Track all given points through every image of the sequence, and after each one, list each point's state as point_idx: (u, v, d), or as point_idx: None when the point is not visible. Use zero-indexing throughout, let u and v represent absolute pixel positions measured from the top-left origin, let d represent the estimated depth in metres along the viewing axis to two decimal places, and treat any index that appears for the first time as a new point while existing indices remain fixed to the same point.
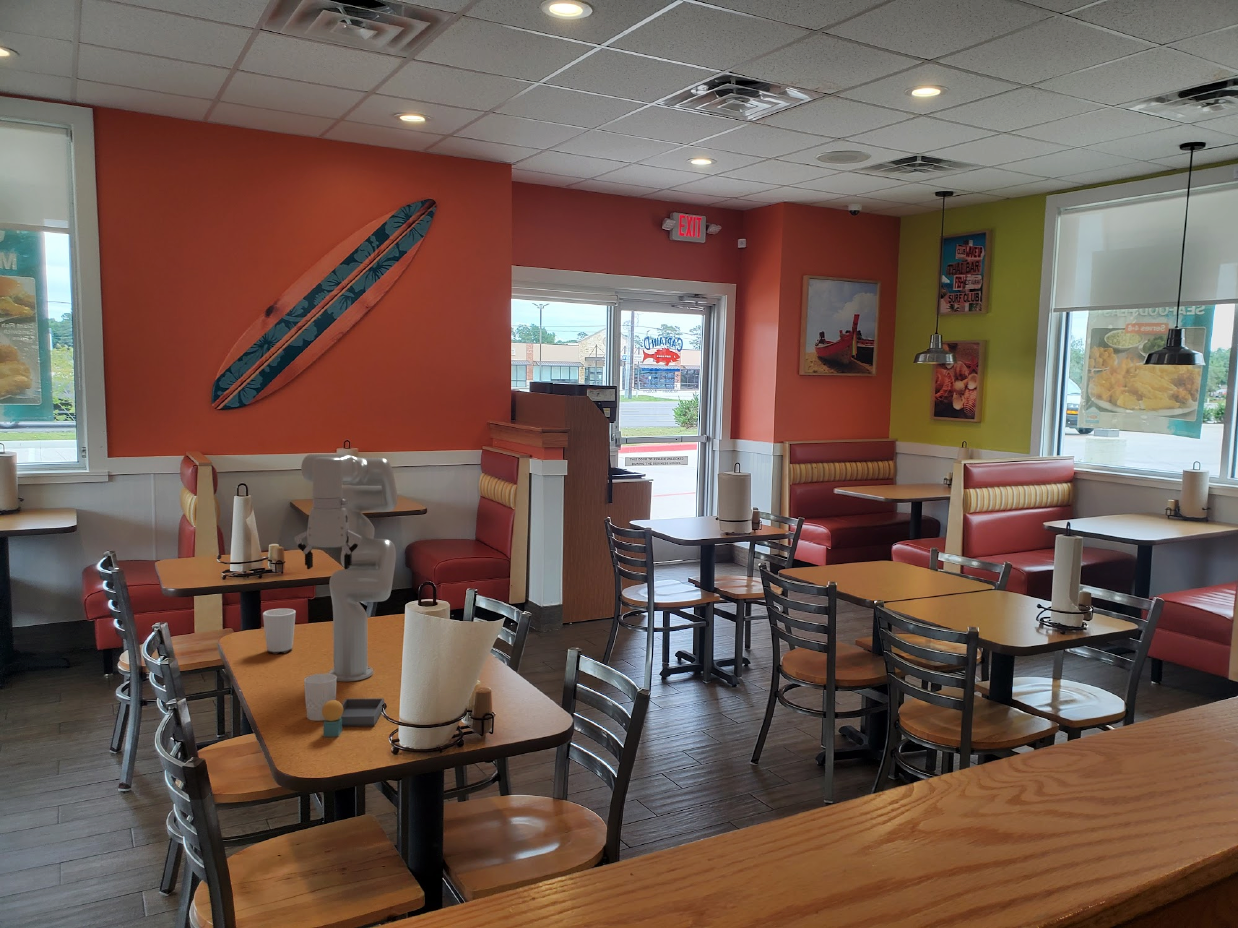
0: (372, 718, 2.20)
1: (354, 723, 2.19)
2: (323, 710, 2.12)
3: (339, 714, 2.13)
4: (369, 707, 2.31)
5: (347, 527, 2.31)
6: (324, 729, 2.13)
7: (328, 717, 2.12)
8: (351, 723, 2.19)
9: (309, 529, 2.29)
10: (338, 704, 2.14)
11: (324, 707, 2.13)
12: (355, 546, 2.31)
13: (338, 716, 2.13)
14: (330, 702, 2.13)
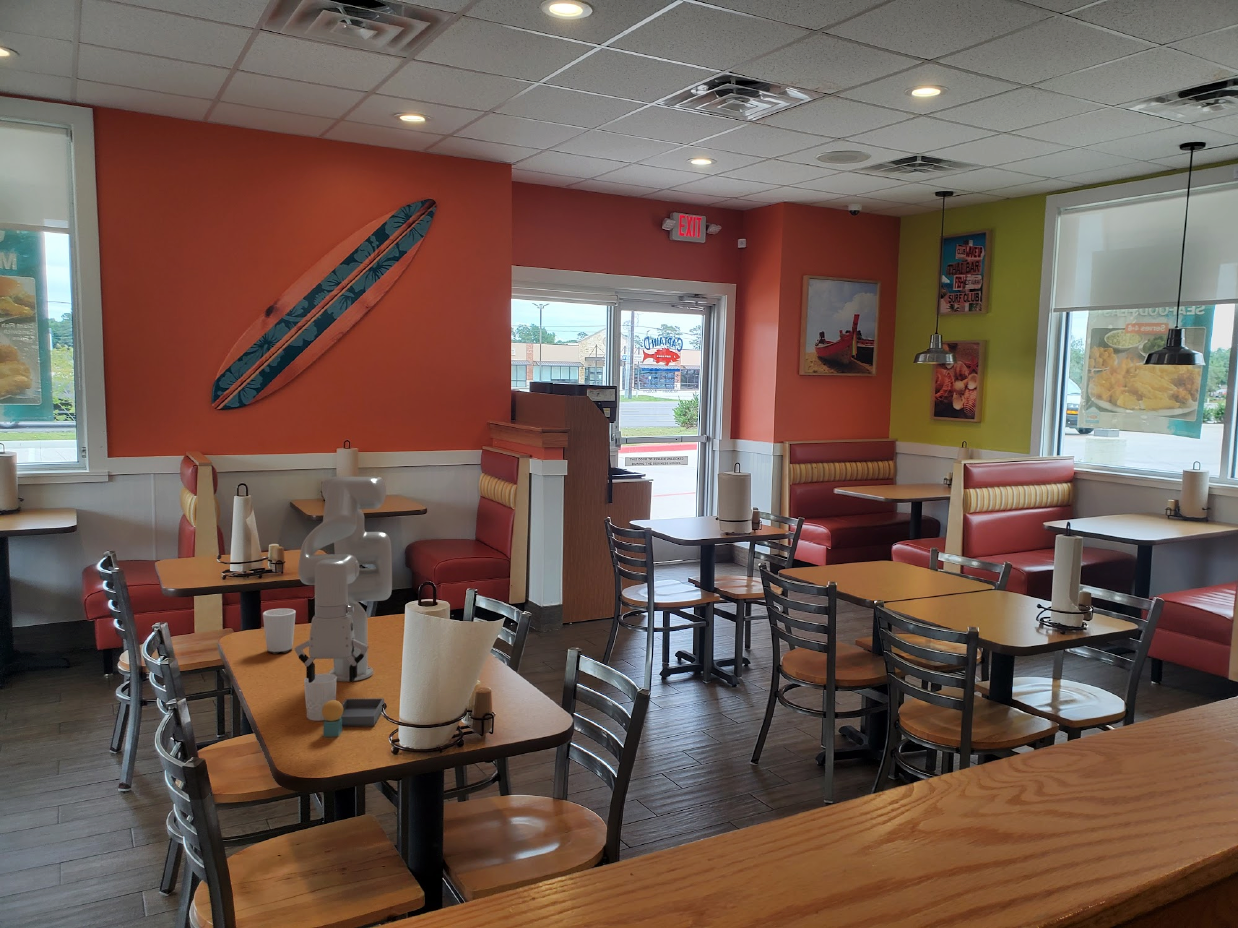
0: (372, 718, 2.20)
1: (354, 723, 2.19)
2: (323, 710, 2.12)
3: (339, 714, 2.13)
4: (369, 707, 2.31)
5: (352, 636, 2.12)
6: (324, 729, 2.13)
7: (328, 717, 2.12)
8: (351, 723, 2.19)
9: (311, 639, 2.10)
10: (338, 704, 2.14)
11: (324, 707, 2.13)
12: (361, 657, 2.12)
13: (338, 716, 2.13)
14: (330, 702, 2.13)
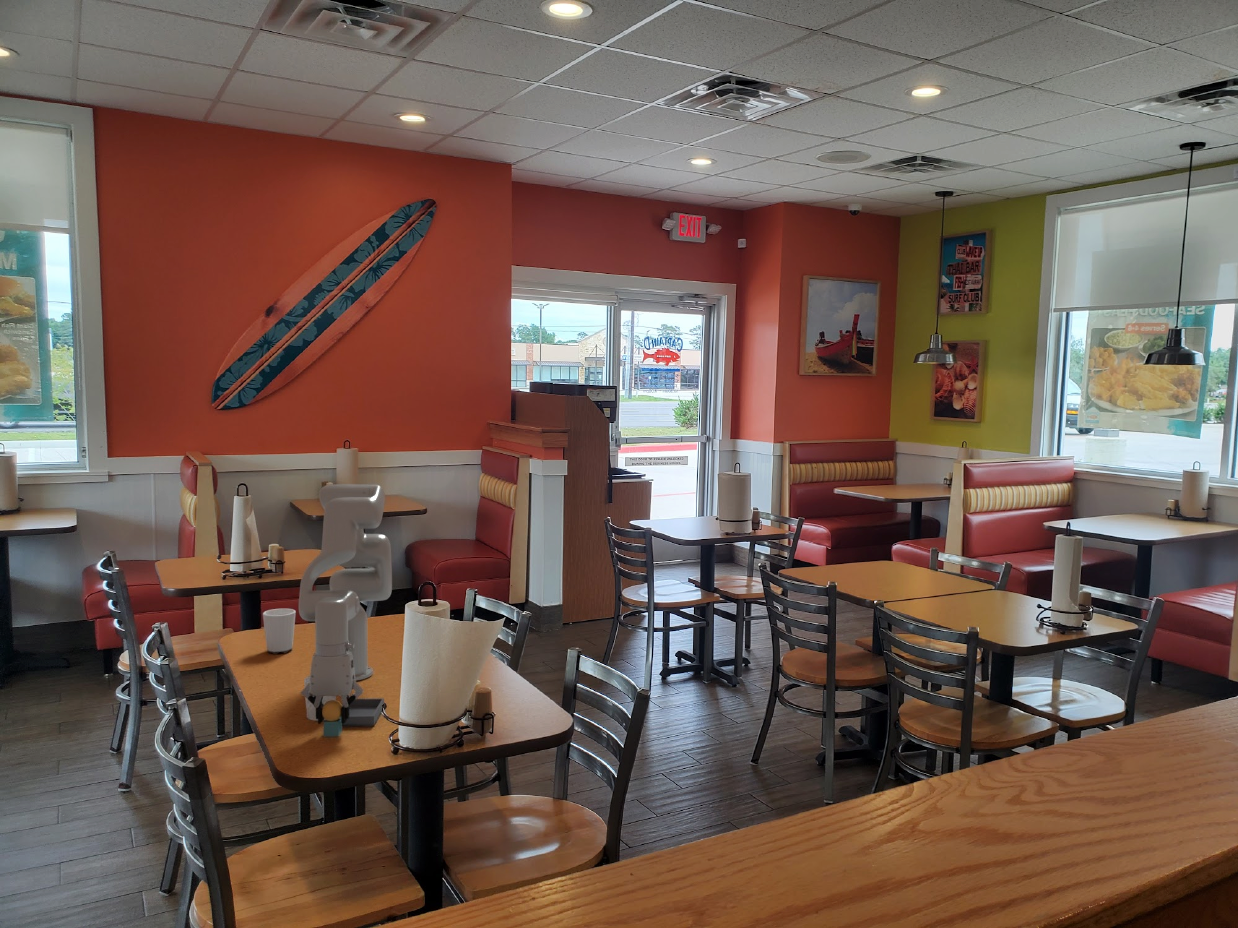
0: (372, 718, 2.20)
1: (354, 723, 2.19)
2: (323, 710, 2.12)
3: (339, 714, 2.13)
4: (369, 707, 2.31)
5: (352, 673, 2.13)
6: (324, 729, 2.13)
7: (328, 717, 2.12)
8: (351, 723, 2.19)
9: (312, 677, 2.11)
10: (338, 704, 2.14)
11: (324, 707, 2.13)
12: (353, 698, 2.13)
13: (338, 716, 2.13)
14: (330, 702, 2.13)
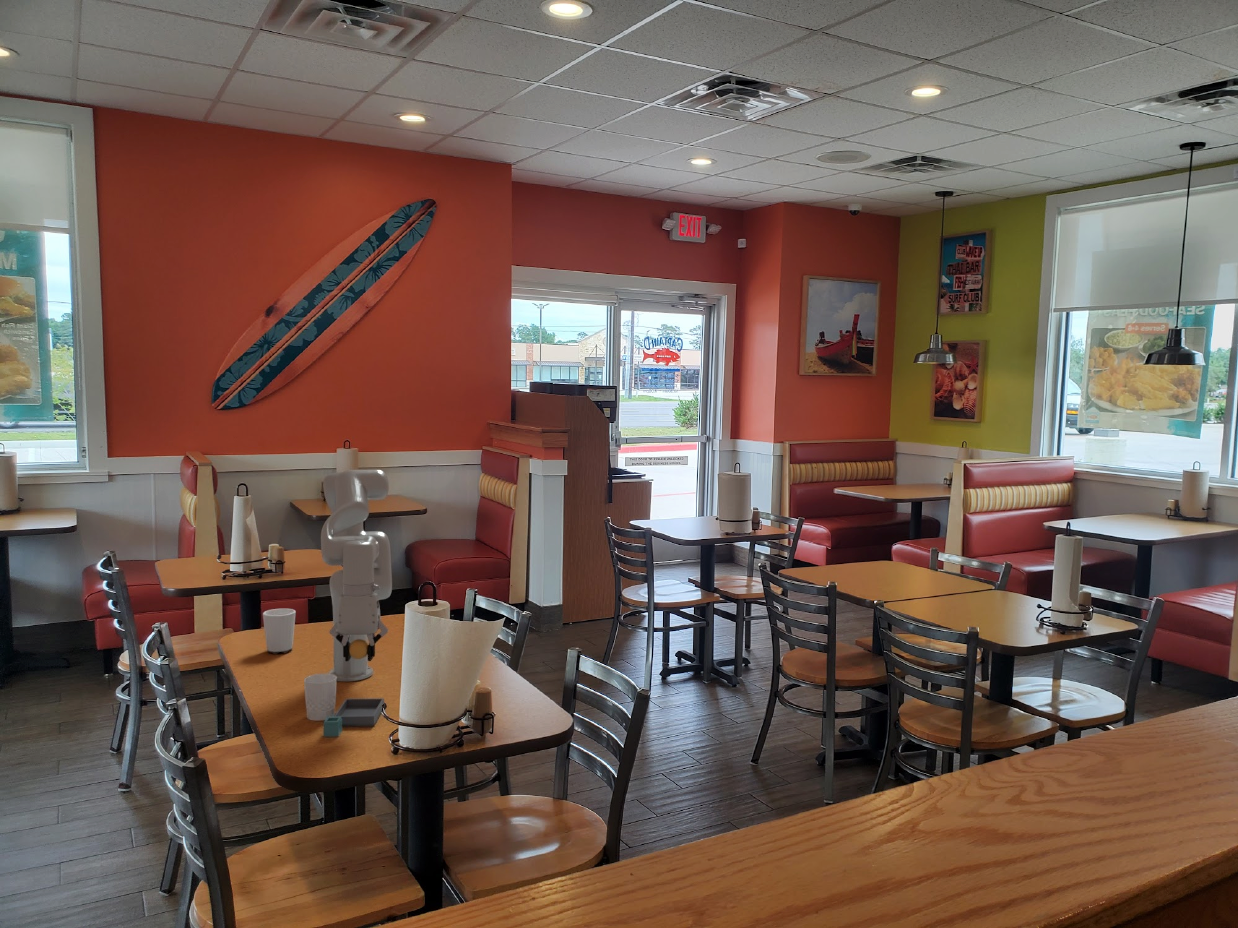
0: (372, 718, 2.20)
1: (354, 723, 2.19)
2: (350, 648, 2.23)
3: (365, 652, 2.23)
4: (369, 707, 2.31)
5: (378, 613, 2.24)
6: (324, 729, 2.13)
7: (355, 655, 2.22)
8: (351, 723, 2.19)
9: (339, 616, 2.21)
10: (364, 642, 2.24)
11: (351, 645, 2.23)
12: (379, 637, 2.24)
13: (364, 654, 2.23)
14: (357, 641, 2.23)
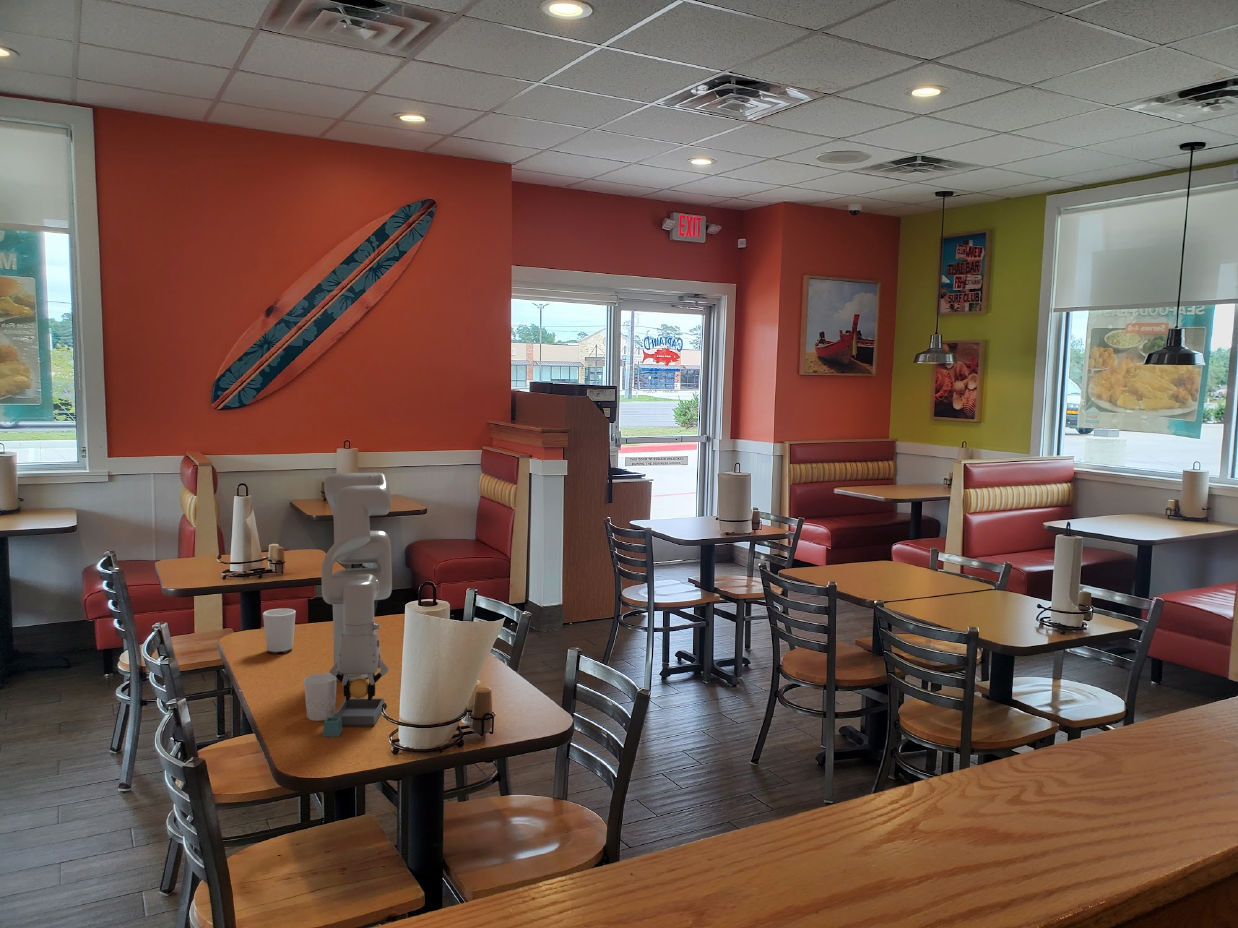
0: (372, 718, 2.20)
1: (354, 723, 2.19)
2: (350, 687, 2.23)
3: (366, 691, 2.24)
4: (369, 707, 2.31)
5: (378, 652, 2.24)
6: (324, 729, 2.13)
7: (355, 694, 2.23)
8: (351, 723, 2.19)
9: (340, 656, 2.22)
10: (365, 681, 2.24)
11: (351, 685, 2.23)
12: (379, 676, 2.24)
13: (365, 693, 2.24)
14: (357, 680, 2.24)
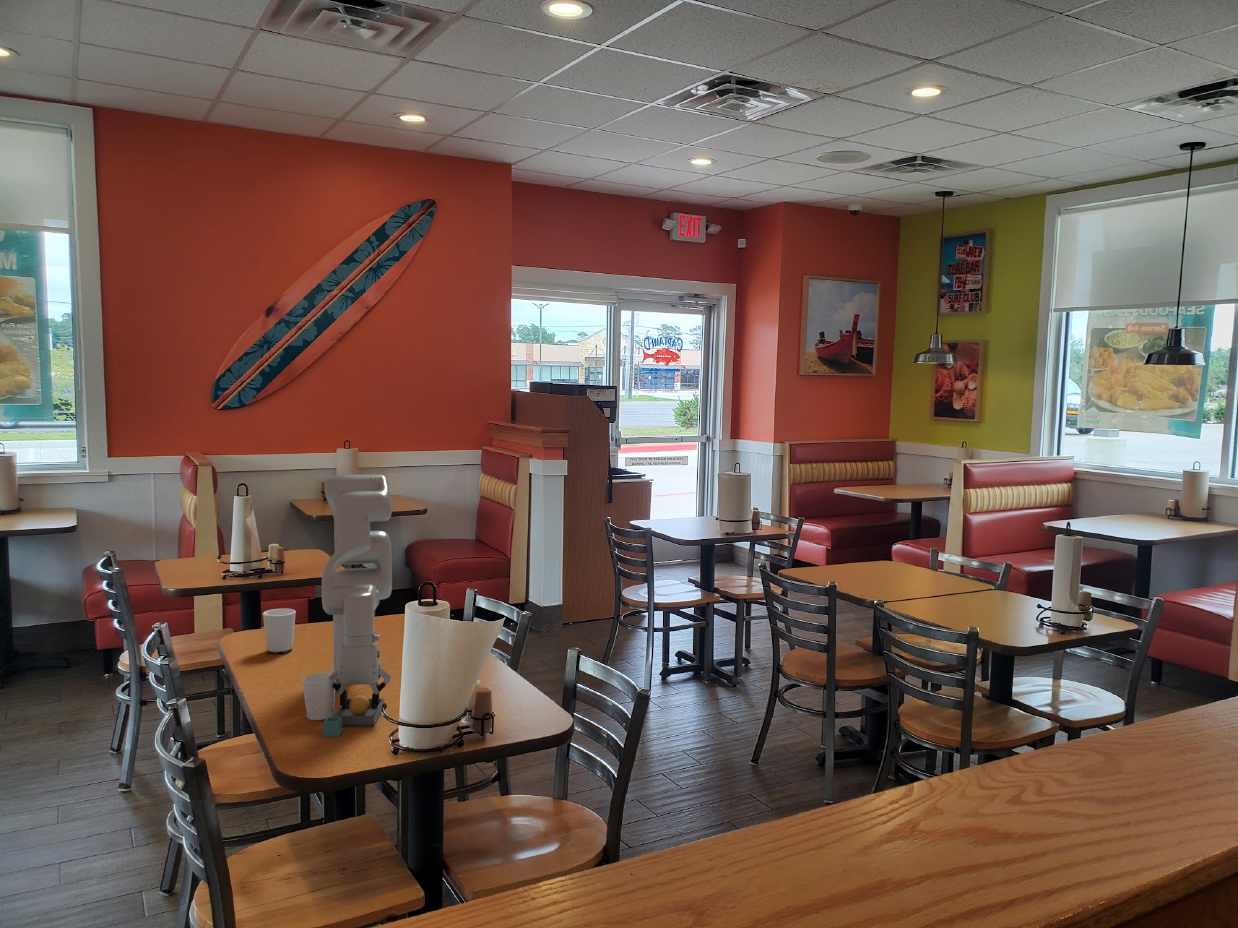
0: (372, 718, 2.20)
1: (354, 723, 2.19)
2: (350, 705, 2.24)
3: (366, 709, 2.24)
4: (369, 707, 2.31)
5: (378, 663, 2.25)
6: (324, 729, 2.13)
7: (356, 711, 2.23)
8: (351, 723, 2.19)
9: (340, 667, 2.22)
10: (365, 699, 2.25)
11: (351, 702, 2.24)
12: (383, 685, 2.25)
13: (365, 710, 2.24)
14: (357, 697, 2.25)
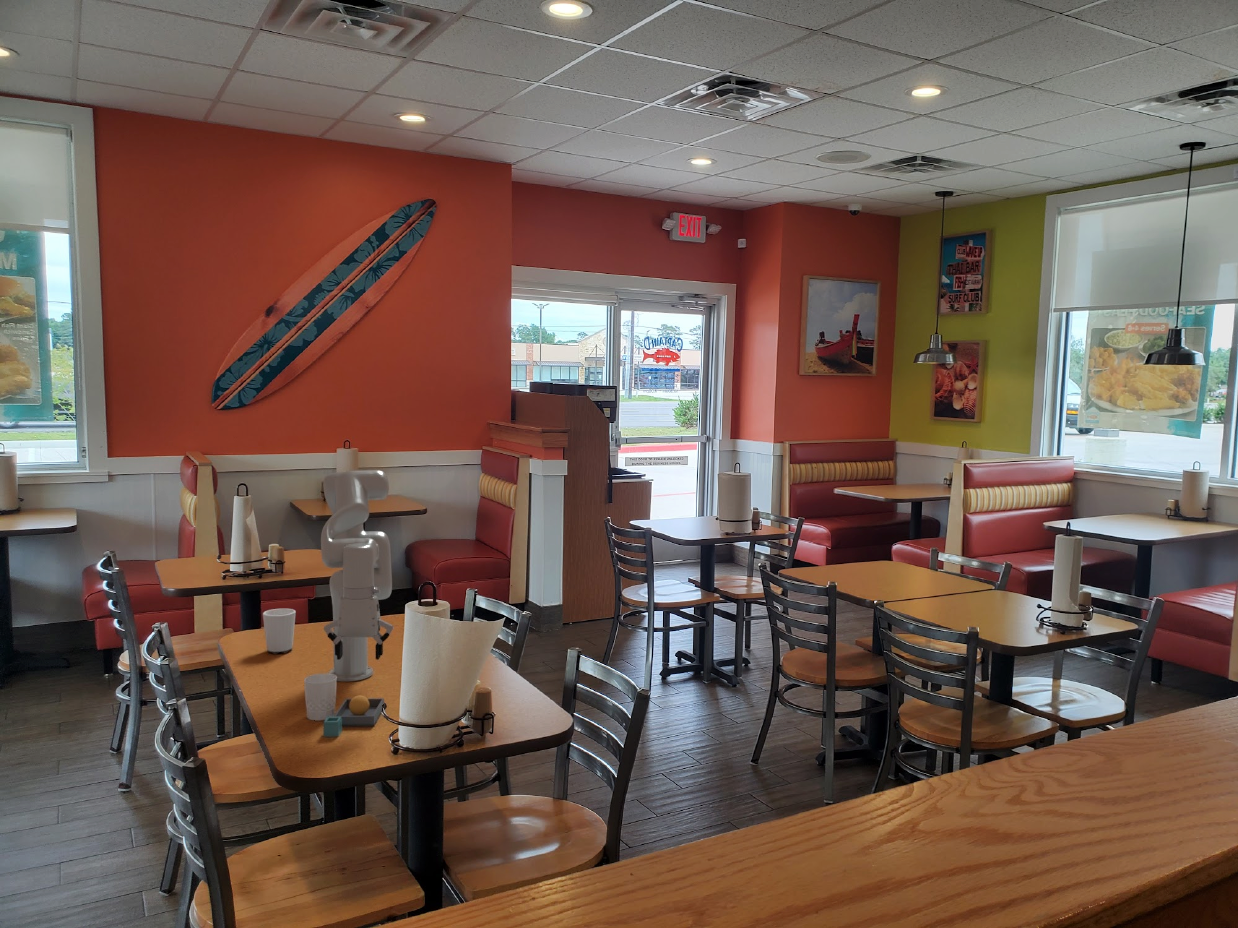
0: (372, 718, 2.20)
1: (354, 723, 2.19)
2: (350, 705, 2.24)
3: (365, 708, 2.24)
4: (369, 707, 2.31)
5: (378, 616, 2.24)
6: (324, 729, 2.13)
7: (355, 712, 2.23)
8: (351, 723, 2.19)
9: (339, 619, 2.22)
10: (364, 699, 2.25)
11: (351, 702, 2.24)
12: (387, 636, 2.24)
13: (365, 710, 2.24)
14: (357, 697, 2.25)
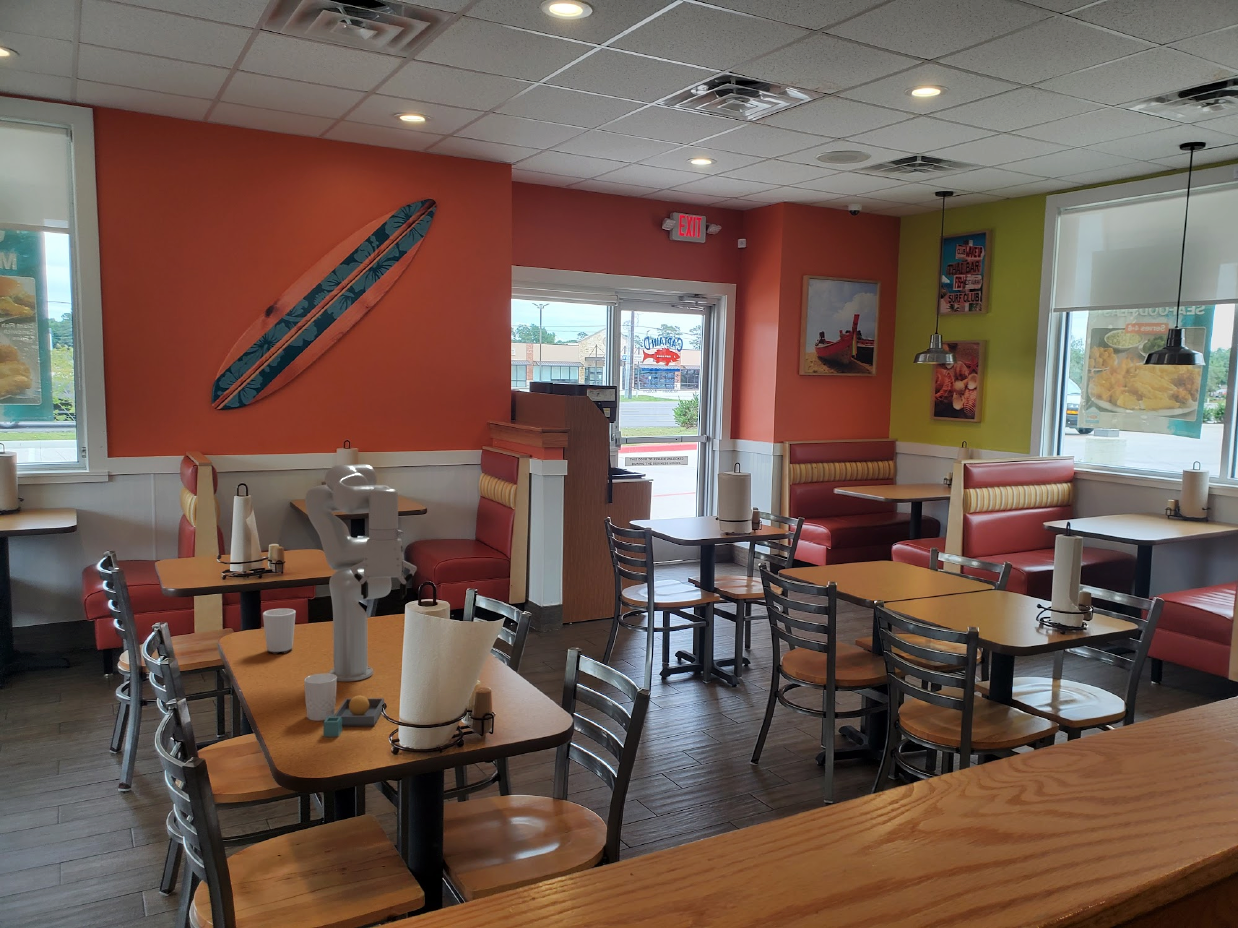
0: (372, 718, 2.20)
1: (354, 723, 2.19)
2: (350, 705, 2.24)
3: (365, 708, 2.24)
4: (369, 707, 2.31)
5: (402, 557, 2.35)
6: (324, 729, 2.13)
7: (355, 712, 2.23)
8: (351, 723, 2.19)
9: (366, 560, 2.33)
10: (364, 699, 2.25)
11: (351, 703, 2.24)
12: (410, 576, 2.35)
13: (364, 710, 2.24)
14: (356, 697, 2.25)
